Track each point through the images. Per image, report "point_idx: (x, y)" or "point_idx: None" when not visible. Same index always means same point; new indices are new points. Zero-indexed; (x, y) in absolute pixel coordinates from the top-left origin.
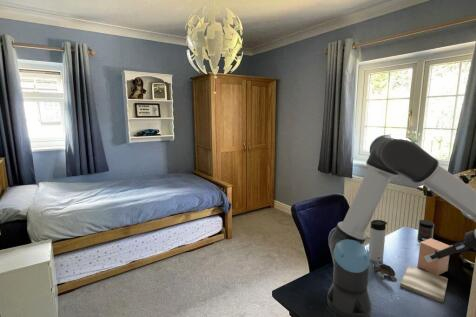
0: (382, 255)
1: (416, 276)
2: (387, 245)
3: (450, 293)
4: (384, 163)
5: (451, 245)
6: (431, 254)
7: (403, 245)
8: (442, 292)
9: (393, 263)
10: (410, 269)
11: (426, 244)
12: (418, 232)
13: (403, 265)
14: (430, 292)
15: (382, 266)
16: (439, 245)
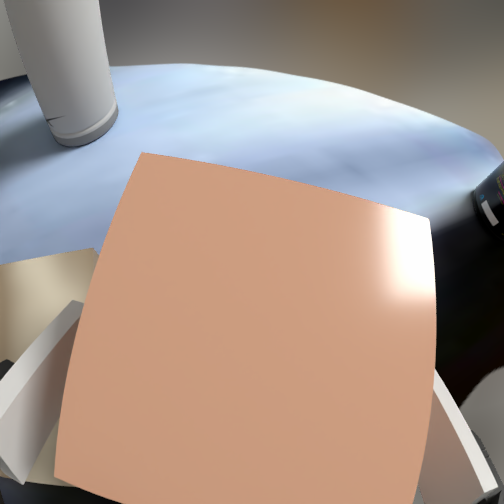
0: (57, 114)
1: (4, 325)
2: (291, 104)
3: (34, 495)
4: None
5: (468, 457)
6: (17, 371)
7: (368, 154)
8: None
9: (104, 181)
10: (53, 273)
11: (118, 239)
12: (496, 169)
13: None
14: None
15: None
16: (278, 424)
